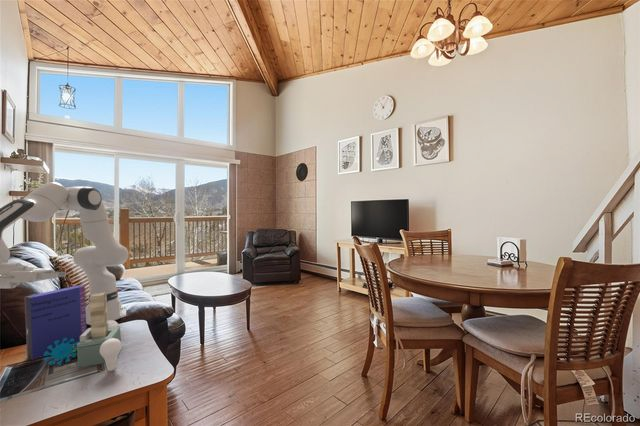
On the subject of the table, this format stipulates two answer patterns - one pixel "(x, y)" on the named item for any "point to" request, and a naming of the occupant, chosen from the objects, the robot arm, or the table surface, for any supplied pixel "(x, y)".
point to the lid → (87, 338)
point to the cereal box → (54, 319)
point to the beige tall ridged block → (98, 315)
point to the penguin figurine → (112, 324)
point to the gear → (61, 351)
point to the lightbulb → (110, 352)
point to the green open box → (91, 354)
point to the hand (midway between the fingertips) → (61, 275)
